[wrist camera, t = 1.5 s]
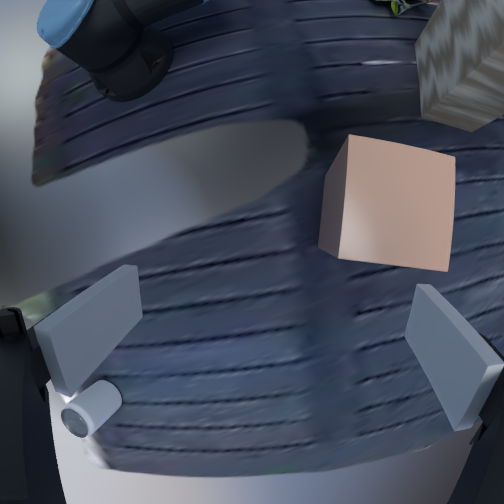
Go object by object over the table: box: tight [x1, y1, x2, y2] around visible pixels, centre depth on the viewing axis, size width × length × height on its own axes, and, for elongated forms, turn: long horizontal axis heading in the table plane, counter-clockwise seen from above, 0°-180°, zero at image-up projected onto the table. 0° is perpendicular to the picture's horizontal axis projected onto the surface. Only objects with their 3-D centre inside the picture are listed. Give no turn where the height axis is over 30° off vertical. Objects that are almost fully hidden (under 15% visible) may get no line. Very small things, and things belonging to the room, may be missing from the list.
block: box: [318, 135, 455, 272], centre depth 32 cm, size 10×10×20 cm
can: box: [61, 380, 122, 438], centre depth 43 cm, size 6×6×12 cm
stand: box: [414, 0, 504, 132], centre depth 23 cm, size 15×10×30 cm, turn 174°
